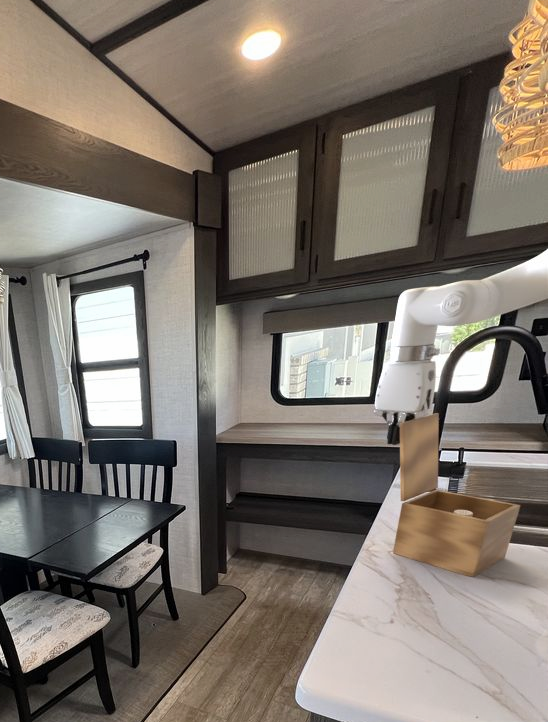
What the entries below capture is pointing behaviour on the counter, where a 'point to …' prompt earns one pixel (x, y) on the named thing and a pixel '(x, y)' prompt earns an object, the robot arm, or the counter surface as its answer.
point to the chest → (455, 531)
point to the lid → (418, 456)
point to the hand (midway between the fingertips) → (394, 443)
